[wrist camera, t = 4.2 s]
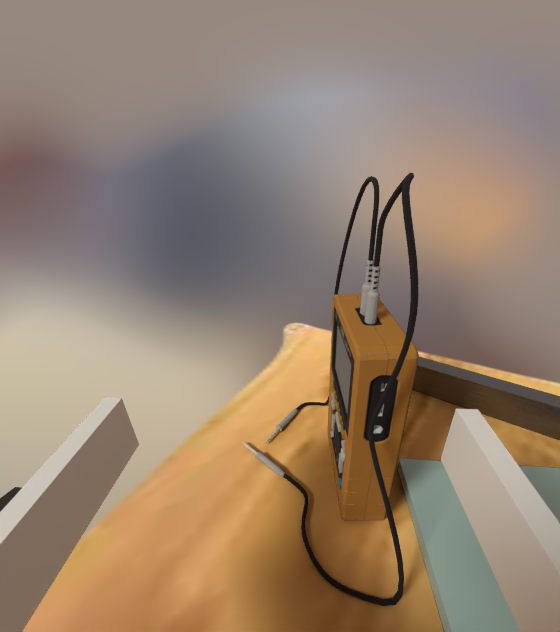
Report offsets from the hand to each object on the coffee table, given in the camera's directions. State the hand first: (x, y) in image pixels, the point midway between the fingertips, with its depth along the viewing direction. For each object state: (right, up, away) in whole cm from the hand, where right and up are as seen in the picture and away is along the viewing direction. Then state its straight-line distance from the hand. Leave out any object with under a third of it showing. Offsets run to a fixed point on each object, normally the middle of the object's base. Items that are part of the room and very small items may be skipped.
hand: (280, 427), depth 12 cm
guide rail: (+19, -4, +15) cm, 24 cm away
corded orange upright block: (+2, -7, +10) cm, 12 cm away
